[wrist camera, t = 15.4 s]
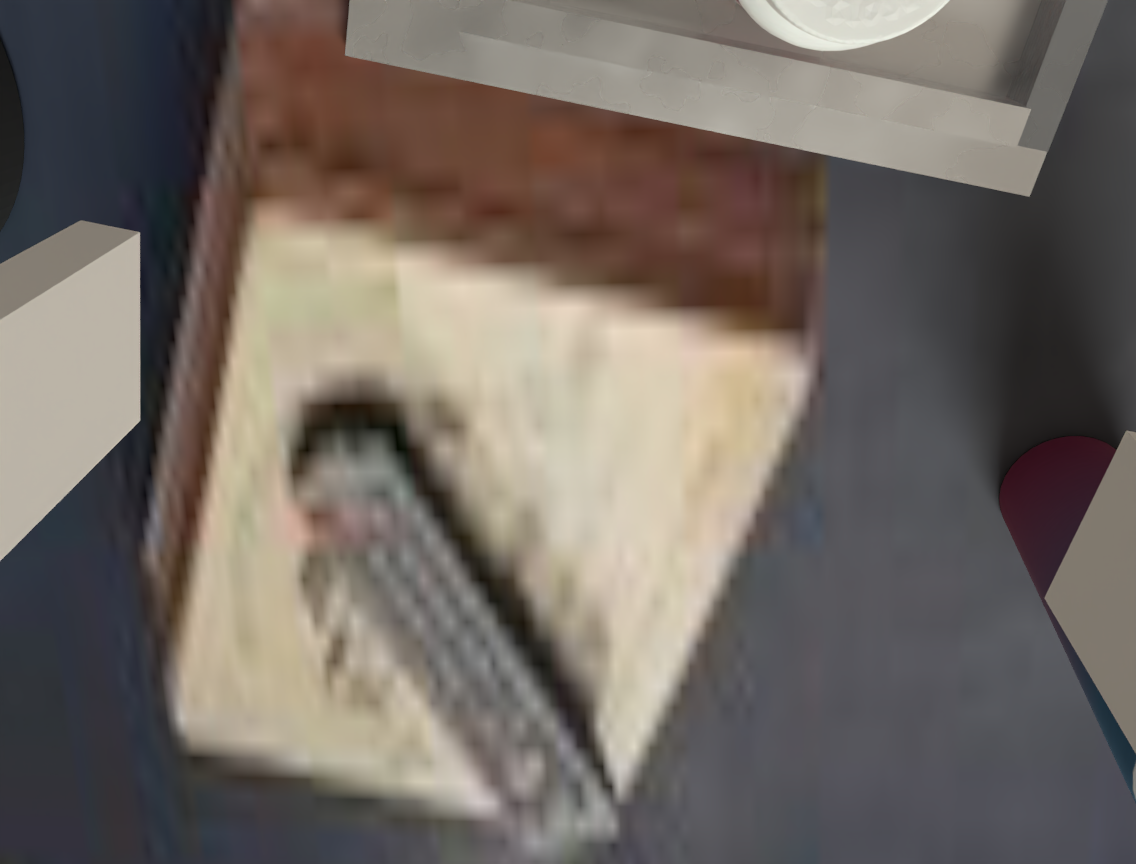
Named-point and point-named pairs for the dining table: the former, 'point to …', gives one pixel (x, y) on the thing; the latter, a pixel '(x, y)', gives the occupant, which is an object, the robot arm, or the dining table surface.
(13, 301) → the robot arm
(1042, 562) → the cup
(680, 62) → the white shallow tray
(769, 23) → the pill bottle
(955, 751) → the dining table surface
